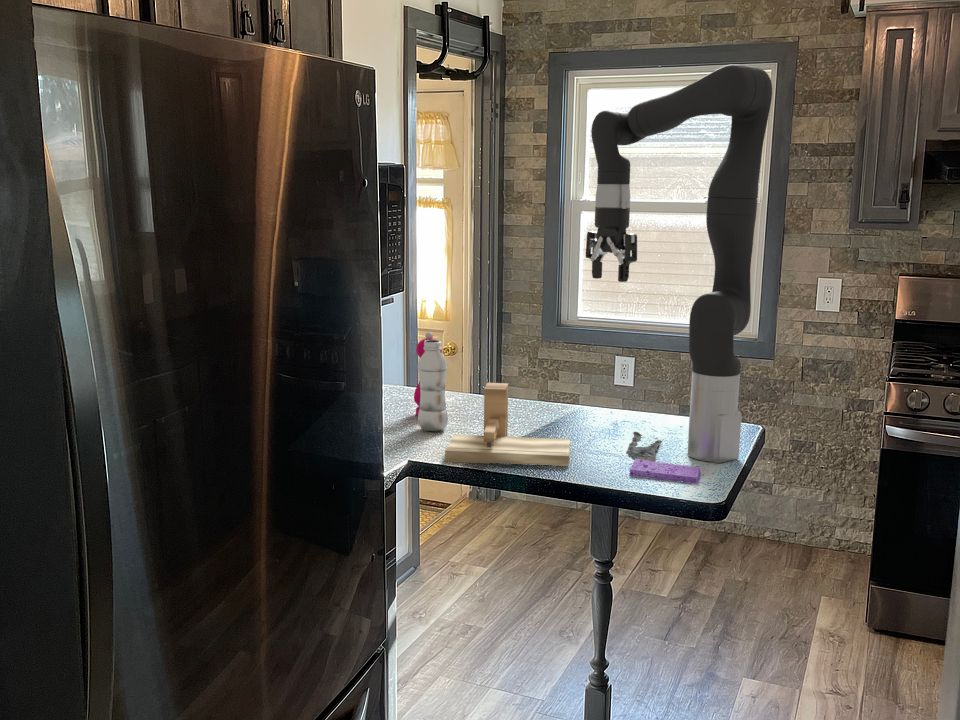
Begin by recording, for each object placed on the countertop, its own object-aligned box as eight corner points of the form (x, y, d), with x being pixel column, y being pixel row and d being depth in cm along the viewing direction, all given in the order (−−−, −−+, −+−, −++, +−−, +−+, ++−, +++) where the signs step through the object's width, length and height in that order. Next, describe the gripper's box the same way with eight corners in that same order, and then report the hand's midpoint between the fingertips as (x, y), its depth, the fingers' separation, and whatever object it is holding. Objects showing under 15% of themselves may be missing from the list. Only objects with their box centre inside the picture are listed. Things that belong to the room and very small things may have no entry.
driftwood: (654, 467, 170) (655, 457, 170) (619, 464, 172) (620, 453, 172) (664, 441, 189) (665, 432, 189) (633, 438, 191) (633, 429, 191)
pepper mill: (443, 419, 203) (443, 334, 199) (412, 419, 203) (412, 334, 199) (445, 412, 210) (445, 329, 206) (415, 411, 210) (415, 329, 206)
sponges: (635, 467, 169) (635, 458, 169) (701, 475, 165) (701, 465, 165) (628, 478, 163) (628, 468, 163) (697, 486, 159) (697, 476, 158)
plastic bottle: (441, 435, 189) (442, 344, 185) (413, 432, 191) (412, 342, 187) (452, 428, 195) (452, 339, 191) (424, 425, 197) (424, 338, 193)
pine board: (454, 444, 182) (454, 434, 182) (569, 449, 179) (570, 439, 179) (445, 461, 170) (445, 450, 170) (568, 467, 168) (569, 455, 167)
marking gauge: (486, 437, 188) (487, 382, 186) (507, 438, 188) (508, 383, 185) (477, 461, 170) (477, 401, 168) (500, 462, 170) (500, 402, 168)
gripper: (578, 205, 194) (576, 278, 197) (622, 206, 183) (618, 283, 186) (603, 205, 198) (601, 276, 201) (648, 206, 187) (644, 282, 190)
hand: (609, 280), depth 193 cm, fingers open, 8 cm apart
